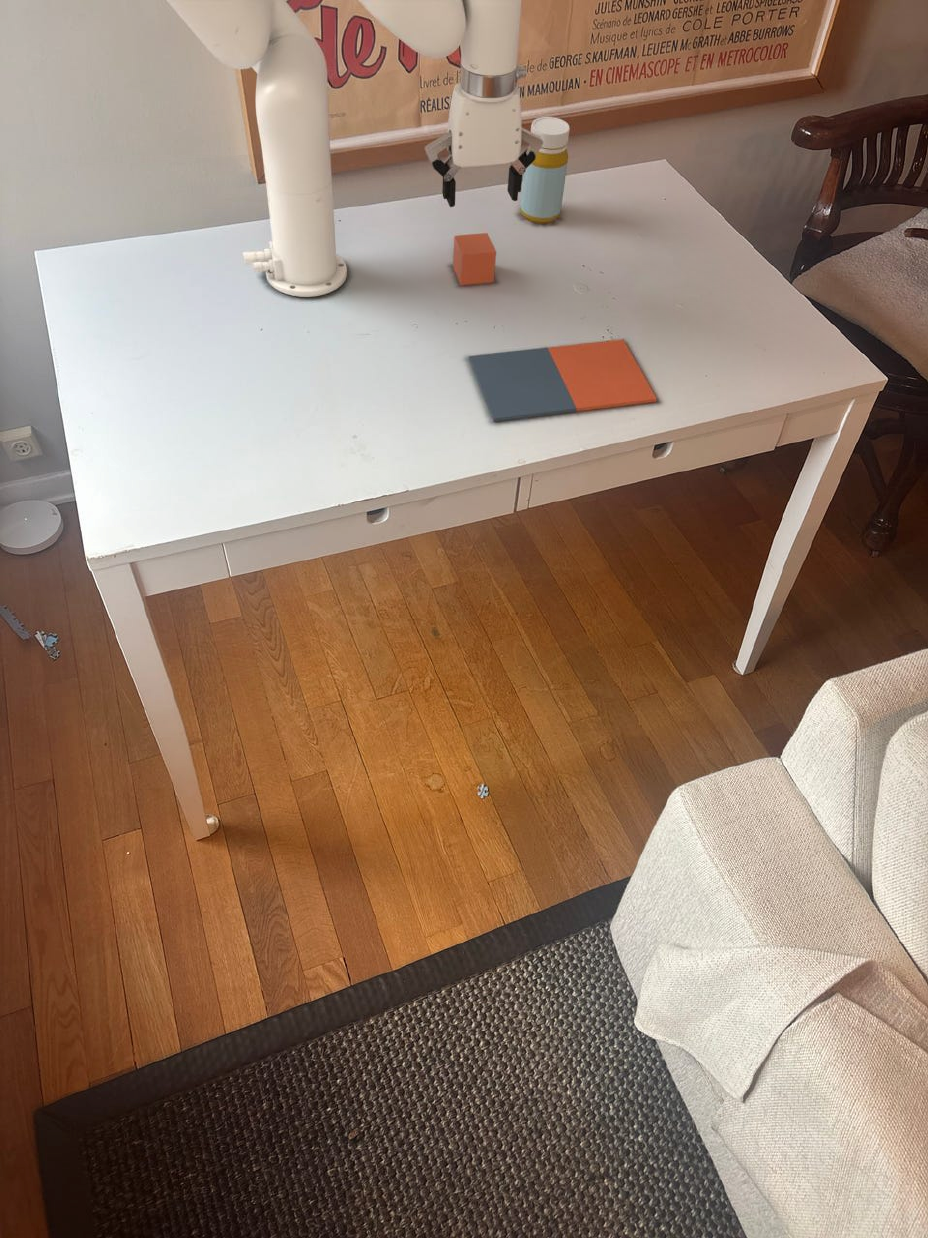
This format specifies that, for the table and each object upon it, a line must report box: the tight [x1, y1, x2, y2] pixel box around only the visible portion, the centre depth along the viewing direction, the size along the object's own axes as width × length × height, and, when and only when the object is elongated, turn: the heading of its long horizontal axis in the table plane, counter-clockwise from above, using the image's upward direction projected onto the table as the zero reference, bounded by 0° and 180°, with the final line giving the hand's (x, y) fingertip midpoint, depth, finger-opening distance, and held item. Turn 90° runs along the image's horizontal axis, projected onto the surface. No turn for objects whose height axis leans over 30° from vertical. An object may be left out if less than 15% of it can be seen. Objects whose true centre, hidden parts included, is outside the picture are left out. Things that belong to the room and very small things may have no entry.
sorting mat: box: [468, 339, 658, 423], centre depth 138 cm, size 24×14×1 cm, turn 104°
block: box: [452, 232, 497, 286], centre depth 152 cm, size 5×5×5 cm
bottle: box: [519, 116, 571, 224], centre depth 160 cm, size 7×7×15 cm
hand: (481, 199), depth 144 cm, fingers open, 9 cm apart
